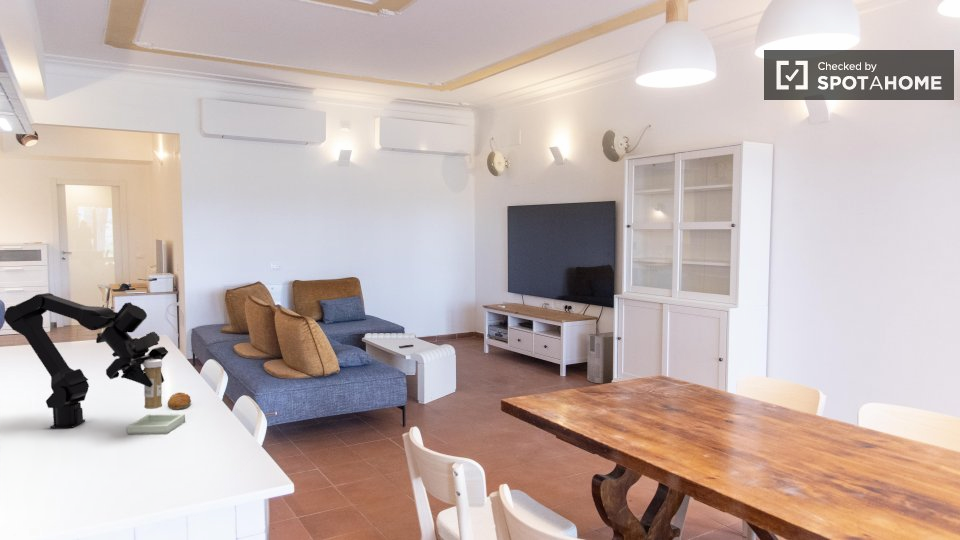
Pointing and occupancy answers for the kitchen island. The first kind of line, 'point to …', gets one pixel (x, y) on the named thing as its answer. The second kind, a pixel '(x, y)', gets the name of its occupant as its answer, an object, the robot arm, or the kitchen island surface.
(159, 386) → the sprinkles bottle
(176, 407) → the pastry
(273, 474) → the kitchen island surface
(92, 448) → the kitchen island surface
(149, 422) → the tray
